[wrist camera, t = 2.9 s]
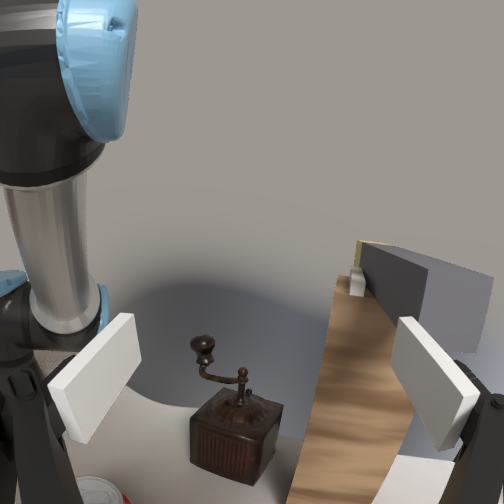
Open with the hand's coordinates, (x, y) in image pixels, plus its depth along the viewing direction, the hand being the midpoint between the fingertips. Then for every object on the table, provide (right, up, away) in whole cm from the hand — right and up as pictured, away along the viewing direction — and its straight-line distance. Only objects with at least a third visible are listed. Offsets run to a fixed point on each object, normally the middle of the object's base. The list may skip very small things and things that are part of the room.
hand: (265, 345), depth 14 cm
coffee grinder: (-5, -27, +27) cm, 38 cm away
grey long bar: (+12, +1, +12) cm, 17 cm away
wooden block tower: (+9, -29, +17) cm, 35 cm away
